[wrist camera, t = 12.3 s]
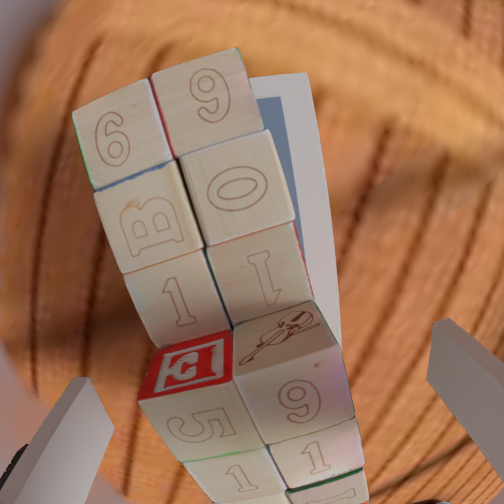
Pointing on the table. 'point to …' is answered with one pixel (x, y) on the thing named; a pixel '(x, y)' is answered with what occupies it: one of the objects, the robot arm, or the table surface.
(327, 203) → the base board
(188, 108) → the stack of blocks
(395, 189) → the table surface
